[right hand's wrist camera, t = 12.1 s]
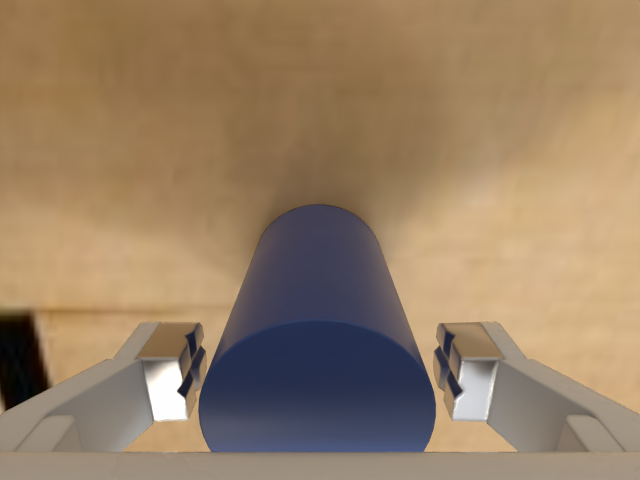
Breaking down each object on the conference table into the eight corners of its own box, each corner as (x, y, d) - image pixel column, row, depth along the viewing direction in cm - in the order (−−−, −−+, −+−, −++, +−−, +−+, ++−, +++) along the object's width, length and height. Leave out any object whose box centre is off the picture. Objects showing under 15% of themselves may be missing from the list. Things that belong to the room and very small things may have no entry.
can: (321, 340, 16) (322, 533, 9) (228, 268, 15) (150, 425, 8) (408, 262, 15) (485, 417, 8) (315, 176, 14) (309, 269, 7)
